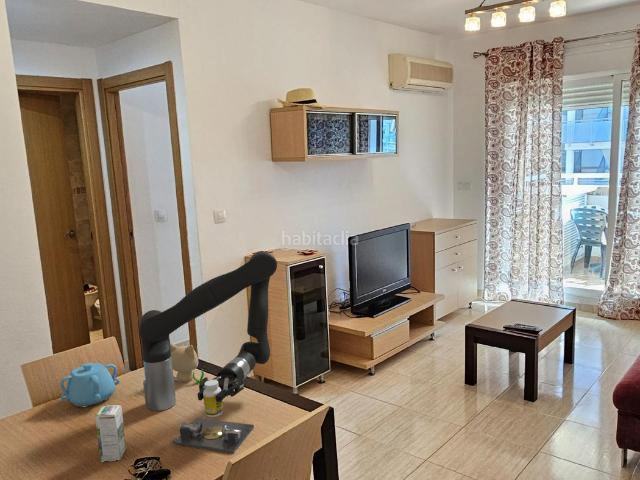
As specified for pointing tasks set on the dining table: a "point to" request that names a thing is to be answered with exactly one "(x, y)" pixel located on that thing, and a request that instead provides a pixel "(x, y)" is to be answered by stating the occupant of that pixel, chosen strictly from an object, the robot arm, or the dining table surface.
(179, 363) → the kitten
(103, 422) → the syrup box
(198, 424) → the base
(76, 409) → the dining table surface
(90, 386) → the decorative pot
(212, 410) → the supplement bottle
